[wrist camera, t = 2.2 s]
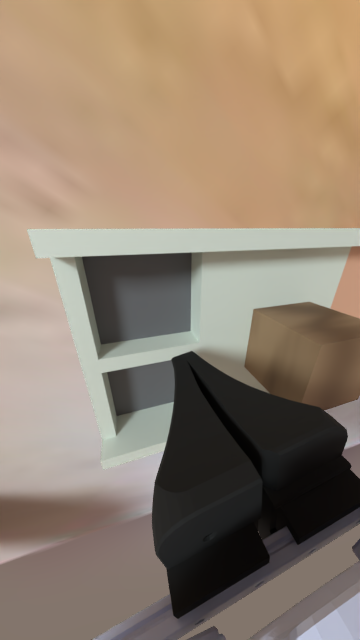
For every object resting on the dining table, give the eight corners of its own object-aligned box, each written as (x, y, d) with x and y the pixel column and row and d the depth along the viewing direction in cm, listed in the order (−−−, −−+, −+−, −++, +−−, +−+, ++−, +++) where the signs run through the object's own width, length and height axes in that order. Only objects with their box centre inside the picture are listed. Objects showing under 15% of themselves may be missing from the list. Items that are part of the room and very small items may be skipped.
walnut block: (309, 301, 14) (393, 330, 10) (293, 355, 16) (357, 399, 12) (253, 308, 13) (321, 345, 9) (244, 366, 15) (295, 419, 11)
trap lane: (388, 229, 16) (450, 227, 13) (333, 366, 23) (366, 387, 19) (56, 231, 10) (26, 229, 7) (106, 425, 16) (103, 469, 13)
